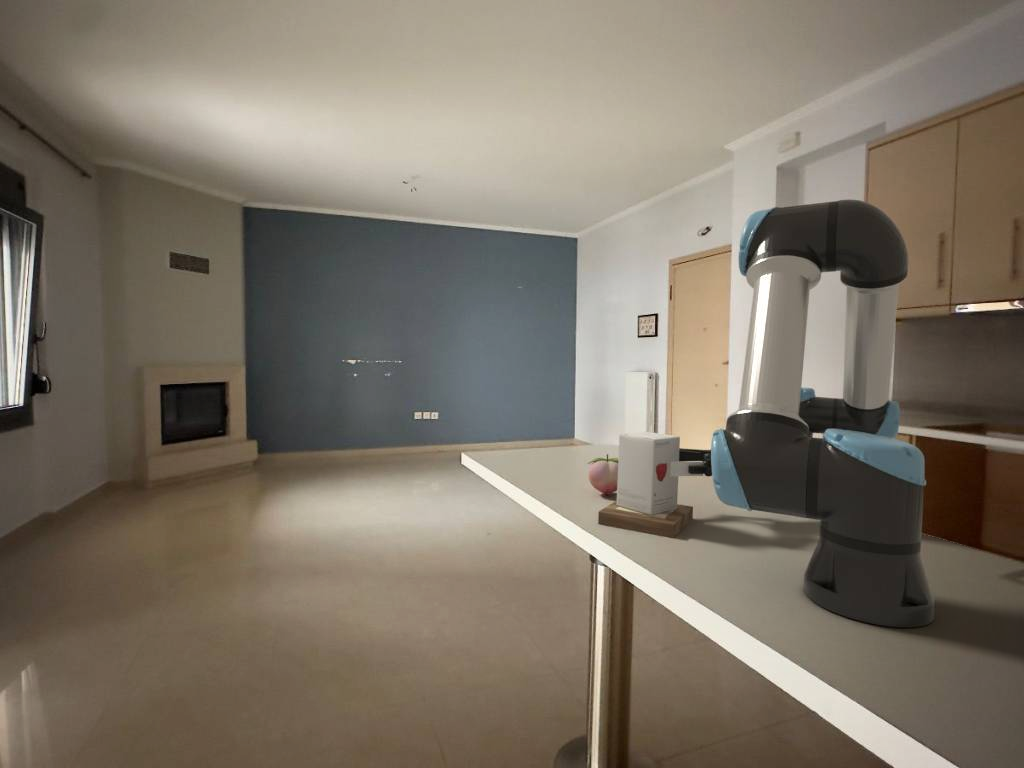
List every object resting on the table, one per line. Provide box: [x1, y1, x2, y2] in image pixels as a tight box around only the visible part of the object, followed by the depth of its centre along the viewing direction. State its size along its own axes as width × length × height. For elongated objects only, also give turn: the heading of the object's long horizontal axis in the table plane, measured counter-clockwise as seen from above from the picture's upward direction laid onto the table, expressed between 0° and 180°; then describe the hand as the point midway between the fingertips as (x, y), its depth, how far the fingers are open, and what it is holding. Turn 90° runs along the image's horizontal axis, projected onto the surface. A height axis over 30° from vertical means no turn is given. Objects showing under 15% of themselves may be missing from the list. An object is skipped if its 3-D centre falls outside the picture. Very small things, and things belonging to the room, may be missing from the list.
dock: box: [597, 500, 694, 539], centre depth 112 cm, size 15×15×3 cm
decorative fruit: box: [587, 454, 619, 496], centre depth 133 cm, size 9×8×10 cm
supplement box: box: [616, 431, 681, 515], centre depth 111 cm, size 9×9×15 cm
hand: (655, 462), depth 112 cm, fingers open, 13 cm apart
